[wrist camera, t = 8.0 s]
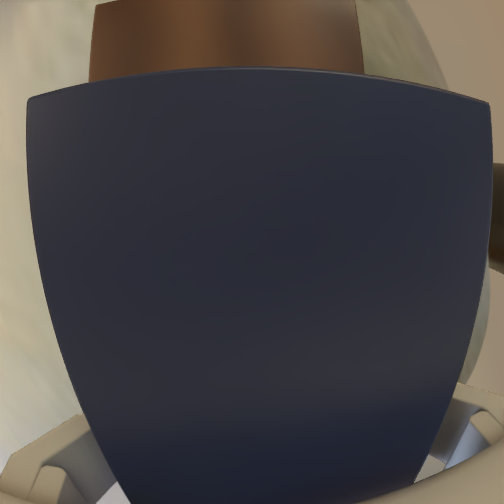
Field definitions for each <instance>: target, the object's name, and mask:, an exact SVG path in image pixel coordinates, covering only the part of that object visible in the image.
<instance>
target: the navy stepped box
mask: <svg viewBox="0 0 504 504" xmlns="http://www.w3.org/2000/svg"><path fill="white" fill-rule="evenodd" d="M26 153H27V175H28V189H29V201H30V210H31V219H32V226H33V234H34V240H35V247H36V253H37V258H38V264H39V269H40V274H41V279H42V283H43V288H44V292H45V297H46V301H47V305H48V309H49V313H50V317H51V320H52V324H53V328H54V331H55V334H56V338H57V341H58V344H59V348H60V351H61V354H62V357H63V360H64V363H65V366H66V369H67V372H68V374H69V377H70V380H71V383H72V385H73V388H74V391H75V393H76V396H77V398H78V401H79V403H80V406H81V408H82V410H83V413H84V415H85V418H86V420H87V422H88V424H89V427H90V429H91V431H92V433H93V435H94V437H95V440H96V442H97V444H98V446H99V448H100V450H101V452H102V454H103V456H104V458H105V460H106V462H107V464H108V465H109V467H110V469H111V471H112V473H113V475H114V476H115V478H116V480H117V482H118V484H119V485H120V487H121V489H122V491H123V492H124V494H125V496H126V497H127V499H128V501H129V502H130V504H354V503H357V502H361V501H364V500H367V499H371V498H374V497H377V496H380V495H383V494H386V493H389V492H392V491H394V490H397V489H400V488H403V487H405V486H408V485H410V484H413V483H414V481H415V479H416V477H417V475H418V474H419V472H420V470H421V468H422V466H423V464H424V462H425V460H426V458H427V456H428V454H429V452H430V449H431V447H432V445H433V443H434V441H435V438H436V436H437V434H438V432H439V429H440V427H441V425H442V422H443V420H444V417H445V415H446V412H447V410H448V407H449V405H450V402H451V399H452V396H453V394H454V391H455V388H456V385H457V382H458V379H459V376H460V373H461V370H462V367H463V364H464V360H465V357H466V354H467V350H468V347H469V343H470V339H471V335H472V331H473V327H474V323H475V319H476V315H477V310H478V306H479V301H480V296H481V291H482V285H483V279H484V273H485V267H486V260H487V253H488V244H489V235H490V225H491V212H492V193H493V144H492V126H491V112H490V106H489V103H487V102H485V101H482V100H478V99H475V98H472V97H469V96H465V95H462V94H458V93H455V92H451V91H447V90H443V89H439V88H435V87H431V86H427V85H422V84H418V83H413V82H408V81H403V80H398V79H392V78H387V77H381V76H375V75H368V74H361V73H354V72H345V71H336V70H326V69H315V68H300V67H280V66H222V67H201V68H187V69H175V70H165V71H156V72H148V73H141V74H134V75H127V76H121V77H115V78H109V79H104V80H99V81H94V82H89V83H84V84H80V85H75V86H71V87H67V88H63V89H59V90H55V91H51V92H47V93H44V94H40V95H37V96H33V97H31V98H29V99H28V101H27V115H26Z"/></svg>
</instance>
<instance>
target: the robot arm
mask: <svg viewBox="0 0 504 504" xmlns="http://www.w3.org/2000/svg"><path fill="white" fill-rule="evenodd" d="M429 455H431V456H433V457H435V458H437V459H439V460H440V461H442V462H444V463H446V465H445V467H444V469H443V471H441V472H439V473H437V474H434V475H432V476H430V477H428V478H425V479H423V480H420V481H418V482H416V483H413V484H410V485H408V486H405V487H403V488H400V489H397V490H394V491H392V492H389V493H386V494H383V495H380V496H377V497H374V498H371V499H367V500H364V501H361V502H357V503H354V504H504V396H503V395H499V394H496V393H492V392H489V391H485V390H482V389H478V388H475V387H471V386H468V385H465V384H462V383H459V382H457V385H456V388H455V391H454V394H453V396H452V399H451V402H450V405H449V407H448V410H447V412H446V415H445V417H444V420H443V422H442V425H441V427H440V429H439V432H438V434H437V436H436V438H435V441H434V443H433V445H432V447H431V449H430V452H429ZM116 482H117V480H116V478H115V476H114V475H113V473H112V471H111V469H110V467H109V465H108V464H107V462H106V460H105V458H104V456H103V454H102V452H101V450H100V448H99V446H98V444H97V442H96V440H95V437H94V435H93V433H92V431H91V429H90V427H89V424H88V422H87V420H86V418H85V415H84V413H82V415H75V416H74V417H72V418H70V419H69V420H67V421H66V422H64V423H62V424H61V425H59V426H58V427H56V428H54V429H53V430H51V431H50V432H48V433H46V434H45V435H43V436H42V437H40V438H38V439H37V440H35V441H33V442H32V443H30V444H28V445H27V446H25V447H23V448H22V449H20V450H18V451H17V452H15V453H13V454H12V455H11V456H10V458H9V460H8V462H7V464H6V466H5V468H4V470H3V472H2V474H1V476H0V504H96V503H97V502H98V501H99V500H100V499H101V498H102V497H103V496H104V495H105V494H106V492H107V491H108V490H109V489H110V488H111V487H112V486H113V485H114V484H115V483H116Z"/></svg>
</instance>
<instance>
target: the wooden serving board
mask: <svg viewBox="0 0 504 504" xmlns="http://www.w3.org/2000/svg"><path fill="white" fill-rule="evenodd" d="M222 66H280V67H300V68H315V69H326V70H336V71H345V72H354V73H361V74H364V64H363V55H362V47H361V39H360V31H359V24H358V17H357V11H356V5H355V1H354V0H117V1H112V2H107V3H103V4H98V5H96V7H95V14H94V22H93V31H92V41H91V53H90V67H89V82H94V81H99V80H104V79H109V78H115V77H121V76H127V75H134V74H141V73H148V72H156V71H165V70H175V69H187V68H201V67H222Z"/></svg>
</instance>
